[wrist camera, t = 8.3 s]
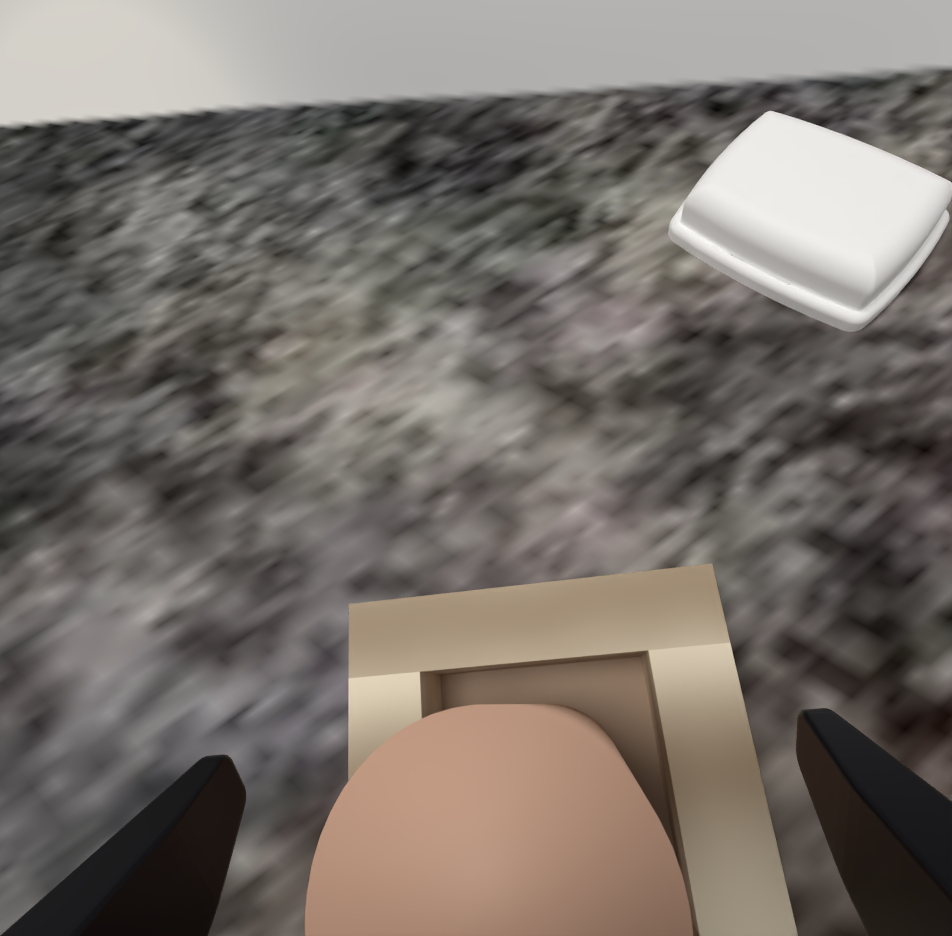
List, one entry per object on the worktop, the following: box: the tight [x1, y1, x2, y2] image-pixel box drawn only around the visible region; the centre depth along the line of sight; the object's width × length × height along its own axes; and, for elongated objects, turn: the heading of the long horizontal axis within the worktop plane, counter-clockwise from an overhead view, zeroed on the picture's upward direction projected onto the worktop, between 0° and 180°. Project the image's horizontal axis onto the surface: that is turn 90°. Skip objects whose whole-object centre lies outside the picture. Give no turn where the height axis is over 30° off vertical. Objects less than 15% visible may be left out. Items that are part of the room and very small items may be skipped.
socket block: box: [348, 564, 798, 936], centre depth 17 cm, size 11×11×3 cm
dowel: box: [305, 704, 693, 936], centre depth 12 cm, size 4×4×12 cm
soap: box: [668, 111, 952, 332], centre depth 23 cm, size 9×7×3 cm
